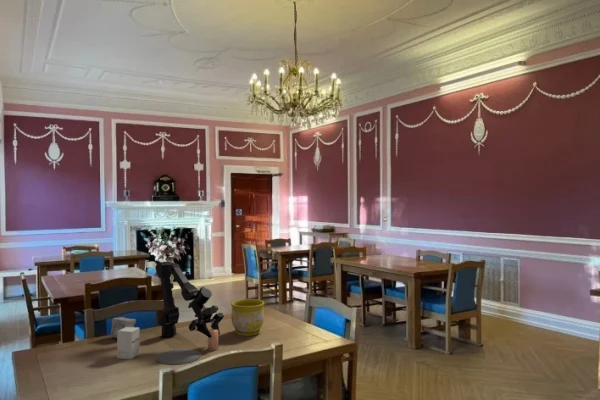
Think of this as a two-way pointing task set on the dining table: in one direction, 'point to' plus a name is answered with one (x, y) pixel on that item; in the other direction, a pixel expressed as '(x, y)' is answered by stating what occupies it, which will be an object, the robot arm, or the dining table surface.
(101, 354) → the dining table surface
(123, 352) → the supplement box
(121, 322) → the incense holder
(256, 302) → the flowerpot
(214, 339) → the salt shaker
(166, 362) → the mat
